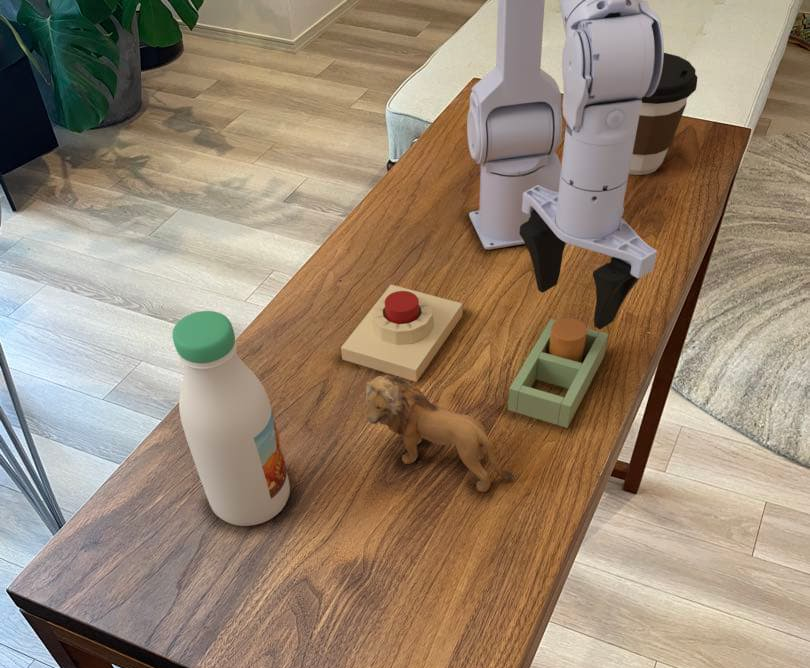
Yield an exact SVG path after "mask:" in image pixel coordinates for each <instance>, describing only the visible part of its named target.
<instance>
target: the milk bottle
mask: <svg viewBox="0 0 810 668" xmlns="http://www.w3.org/2000/svg"><path fill="white" fill-rule="evenodd" d="M172 341H173V345H174V348H175V350H176V352H177V356H178V360H179V361H180V362H181V363H182V364H183V365H184V366H183V379H182V382H181V383H182V384H181V387H180V390H179V391H180V392H179V401H178V409H179V416H180V422H181V425H182V429H183V432H184V435H185V439H186V441H187V444H188V447H189V450H190V453H191V457H192V459H193V462H194V465H195V468H196V471H197V474H198V476H199V479H200V482H201V484H202V487H203V491H204V493H205V496H206V498H207V501H208V503H209V506H210V509H211V510H212V511H213V513H214V514H215V515H216V516H217V517H218V518H219V519H221V520H223V521H224V522H225V523H228V524H231V525H233V526H238V527H250V526H256V525H260V524H263V523H266V522H268V521H270V520H271V519H273V518H275V517H276V516H277V515H278V514H279V513H280V512H282V511H283V509H284V507H285V506H286V504H287V502H288V501H289V497H290V495H291V494H290V493H291V484H290V479H289V474H288V471H287V466H286V461H285V457H284V454H283V453H284V452H283V449H282V445H281V440H280V436H279V432H278V427H277V425H276V420H275V417H274V412H273V410H272V404H271V401H270V399H269V396H268V394H267V391H266V389H265V387H264V385H263V384H262V382H261V381H260V379H259V378H258V377H257V376H256V374H255V373H254V372H253V371H252V370H251V368H249V367H248V366H247V365H246V364H245V363H244V361H243V360H242V359H241V358H240V356H239V355H238V353H237V349H238V344H237V340H236V335H235V331H234V327H233V324H232V322H231V320H230V319H229V318H228V317H227V316H226V315H224V314H223V313H221V312H218V311H212V310H201V311H195V312H193V313H190V314H188V315H186V316H184V317H183V318H181V319H180V320H178V321H177V322H176V324H175V325H174V326H173V328H172Z"/></svg>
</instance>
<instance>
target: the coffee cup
mask: <svg viewBox="0 0 810 668" xmlns="http://www.w3.org/2000/svg"><path fill="white" fill-rule="evenodd" d="M697 85H698V76H697V74H696V68H695V67H694V66H693V64H692V63H691V62H690V61H688V60H687V59H684V58H683V57H681V56H679V55H675V54H671V53H668V52H664V58H663V67H662V73H661V77H660V81H659V84H658V86H657V89H656V90H655V92H654V93H653V94H652V95H651V96H649V97H646V96H644V97H642V98H641V100H642V104H641V110H640V115H639V121H638V126H637V132H636V137H635V143H634V148H633V154H632V159H631V165H630V170H629V175H633V176H634V175H635V176H636V175H637V176H642V175H643V176H644V175H649V174H652V173H654V172H656V171H657V170H658V169H659V168H660V166H661V165H662V164H663V162H664V160H665V157H666V155H667V152H668V149H669V148H670V146H671V145H672V143H673V141H674V138H675V135H676V132H677V131H678V128H679V124H680V122H681V120H682V117H683V115H684V112H685V109H686V107H687V100H688V98H689V97H690V96H691V95H692V94H693V93H694V92H695V91H696V90H697V87H698V86H697Z"/></svg>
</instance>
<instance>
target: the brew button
mask: <svg viewBox="0 0 810 668" xmlns="http://www.w3.org/2000/svg"><path fill="white" fill-rule="evenodd" d="M385 313H386V318H387V320H388V321H389V322H392V323H396V324H408V323H411V322H413V321H415V320H416V319H417V318H418V316H419V300H418V297H417V296H416V295H415V294H413V293H411V292H408V291H397V292H394V293H391V294H390V295H388V296H387V297H386V299H385Z"/></svg>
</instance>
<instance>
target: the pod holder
mask: <svg viewBox="0 0 810 668" xmlns="http://www.w3.org/2000/svg"><path fill="white" fill-rule="evenodd" d="M557 320H558V319H554V318H550V319H549V321H548V323H546V325H545V328H544V329H543V330H542V333H541V334H540V335H539V337H538V339H537V341H536V342H535V344H534V346H533V348H532V349H531V351H530V353H529V354H528V355H527V357H526V360H525V361H524V363H523V364H522V366H521V368H520V369H519V371H518V372H517V374H516V376H515V378H514V380H513V381H512V383H511V385H510V386H509V389H508V399H507V400H508V401H507V402H508V403H507V411H510V412H513V413H517V414H518V415H519V414H520V415H524V416H525V417H530V418H533V419H536V420H540V421H543V422H546V423H549V424H553V425H555V426H559V427H561V428H562V427H563V428H566V429H568V428H569V426H570V424H571V422H572V420H573V419H574V416H575V414H576V413H577V410H578V409H579V406H580V404H581V403H582V401H583V399H584V396H586V393H587V391H588V390H589V387H590V385H591V383H592V382H593V379H594V377H595V375H596V373H597V372H598V370H599V368H600V366H601V364H602V363H603V360H604V358H605V356H606V351H607V345H608V340H609V333H606V332H602V331H599V330H596V329H592V328H591V329H590V328H587V336H586V342H585V348H584V354H583V358H584V360H583V361H582V363H580V362H576V361H572V360H569V359H565V358H562V357H558V356H554V355H551V354H548V352H549V344H550V336H551V328H552V325H553V324H554V322H556V321H557ZM536 380H537V381H539V382H543V383H546V384H549V385H553V386H557V387H559V388H563V389H567V392H566V394H565V395H564V396H561V395H558V394H554V393H551V392H548V391H543V390H540V389H537V388H533V385H534V383H535V382H536Z"/></svg>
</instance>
